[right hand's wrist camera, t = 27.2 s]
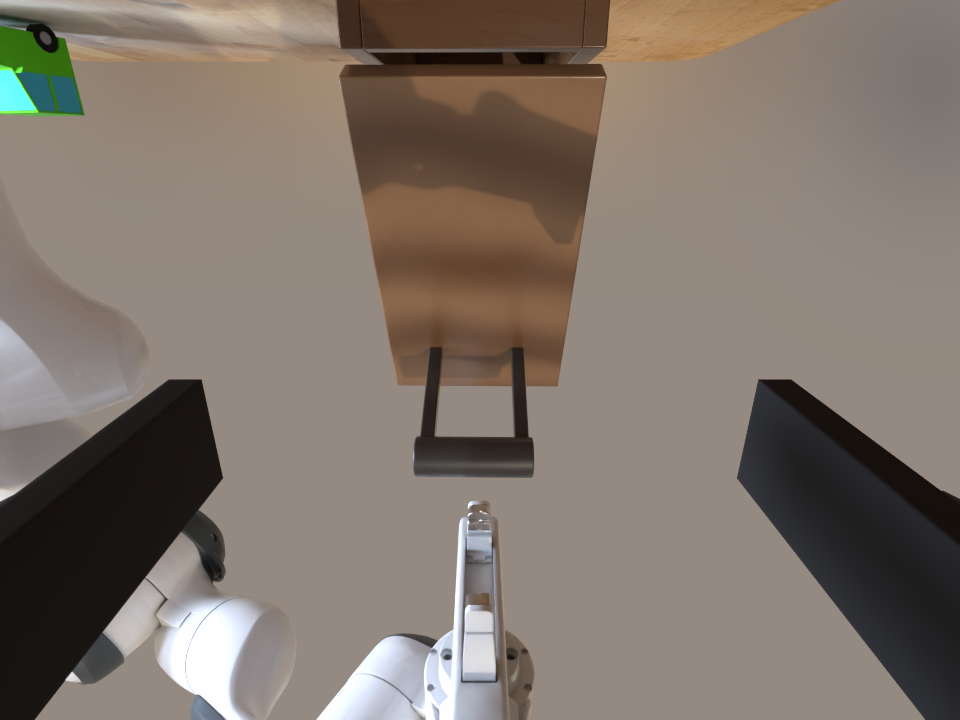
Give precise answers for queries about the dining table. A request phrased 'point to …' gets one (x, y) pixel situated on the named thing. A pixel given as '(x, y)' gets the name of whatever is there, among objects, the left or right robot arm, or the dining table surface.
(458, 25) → the chest
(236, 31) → the dining table surface
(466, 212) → the lid
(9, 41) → the toy car
